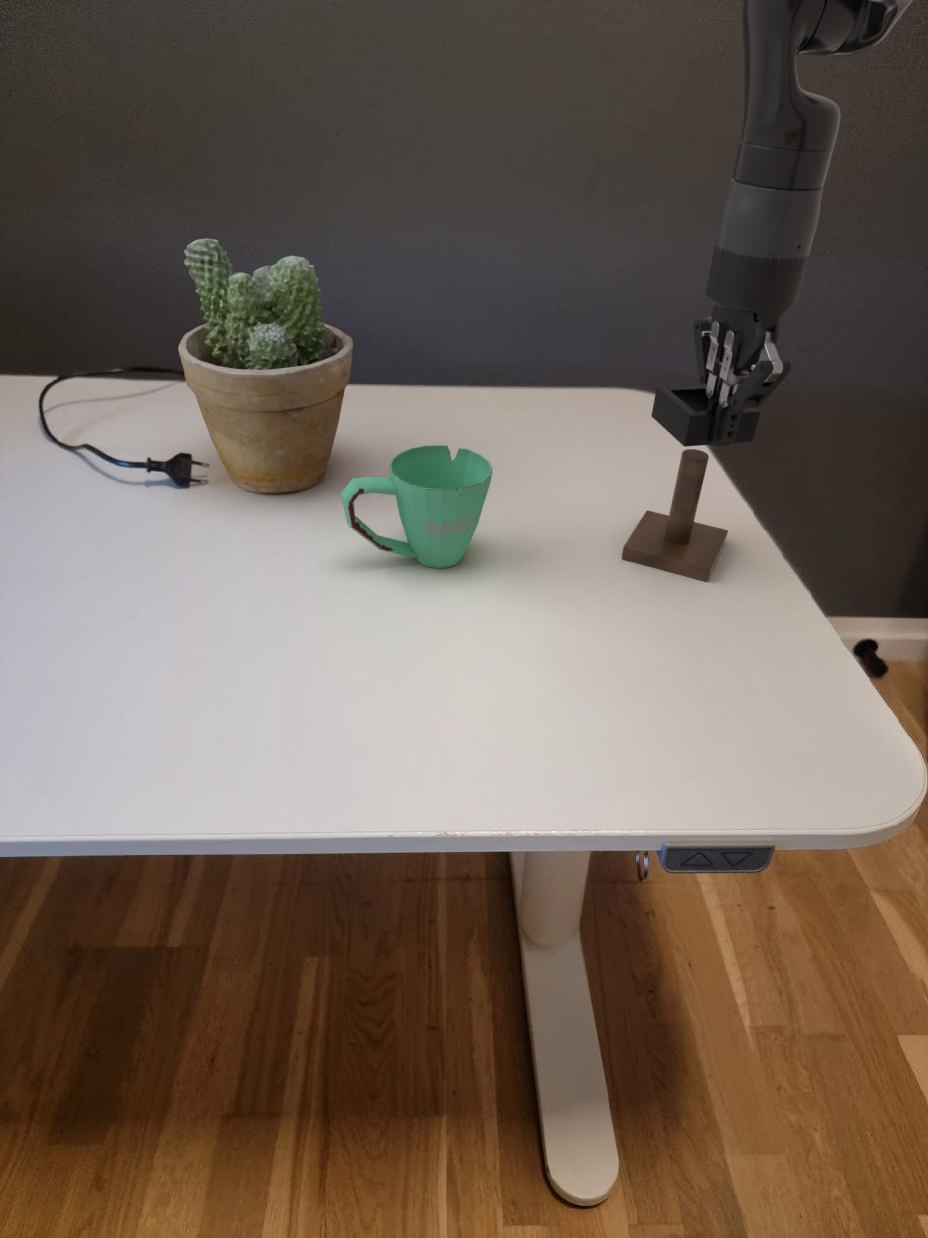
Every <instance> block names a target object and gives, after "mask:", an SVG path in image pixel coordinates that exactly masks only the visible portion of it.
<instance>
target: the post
mask: <svg viewBox="0 0 928 1238" xmlns="http://www.w3.org/2000/svg"><path fill="white" fill-rule="evenodd" d="M709 457H710V456H709V454H708V453H707V452H705V451H703V450H700V449H694V448H688V449H684V450H683V451H682V452H681V456H680V461H679V464H678V465H679V466H678V471H677V474H676V480H675V485H674V489H673V495H672V498H671V503H670V507H669V513H668V515H667V514H664V513H660V512H655V511H652V510H648V509H647V510H646V511H645V512H644V514H643V516H642V517H641V519H640V520H639V522H638V524H637V525H636V527H635V528H634V530H633V531H632V533H631V534H630V535H629V537H628V539H627V540H626V542H625V544H624V545H623V548H622V553H621V559H622V560H625V561H629V562H631V563H632V562H633V563H635V564H639V565H643V566H647V567H650V568H654V569H658V570H662V571H665V572H670V573H672V574H676V575H680V576H684V577H688V578H692V579H695V580H700V581H703V582H707V583H708V582H709V580H710V578H711V575H712V573H713V571H714V569H715V566H716V565H717V562H718V560H719V558H720V555H721V554H722V551H723V549H724V546H725V544H726V541H727V537H728V534H729V530H728V529H725V528H721V527H720V528H719V527H716V526H712V525H708V524H703V523H700V522H696V521H695V519H696V515H697V510H698V506H699V502H700V497H701V494H702V488H703V483H704V479H705V476H706V471H707V466H708V462H709Z"/></svg>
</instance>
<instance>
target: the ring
mask: <svg viewBox="0 0 928 1238" xmlns="http://www.w3.org/2000/svg"><path fill="white" fill-rule="evenodd" d="M706 387H707V386H706V384H692V385H674V386H673V385H672V386H657V387H656V388H655V393H654V398H653V399H654V400H653V405H652V410H651V418H652V419H654V421H656V423H658V424H659V425H660V426H661V427H662V428H663V429H664V430H666V431H667V432H668V433H669V434H670V435H671V436H672V437H673V438H674V439H675V440H676V441H677V442H679V444H680V445H682V446H683V447H685V448H687V447H698V446H712V445H713V444H712V443H711V442H710V437H711V433H712V429H713V424H714V420H715V414H716V411H707V406H708V402H709V398H708V397H707V395H706ZM760 416H761V411H760V410H759V409H758V408H744V410H743V412H742V415H741V419H740V423H739V427H738V431H737V436H736V438H735V441H734V442H733V444H742V443H749V442H750V443H751V442H754V440H755V435H756V431H757V427H758V424H759V421H760V420H759V419H760ZM713 446H714V445H713Z"/></svg>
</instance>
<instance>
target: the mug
mask: <svg viewBox="0 0 928 1238" xmlns="http://www.w3.org/2000/svg"><path fill="white" fill-rule="evenodd" d="M389 476H390V477H381V476H380V477H379V476H363V477H361V476H360V477H353V478H352V479H351V480H350V481H349V483H348V485H346V487H344V489H343V490H342V492H341V493H340V495H341V500H342V505H343V509H344V514H345V518H346V519H345V520H346V525H347V526H348V528H350V529H351V530H352V531H354V532H355V533H357V534H358V535H359V536H360V537H362V538H363V539H365V540H366V541H367V542H369V544H371V545H373V546H374V547H375V548H376V549H378V550H379V551H384V552H387V553H392V554H397V555H400V556H406V557H408V558H412V559H413V558H414V559H415V560H416V561H417V562H418V563H419V564H421V565H422V566H425V567H429V568H433V569H448V568H451V567H454V566H455V565H457V564H459V563H460V562H461V561H462V559H463V557H464V555H465V554H466V551H467V550H468V548H469V546H470V545H471V542H472V540H473V537H474V535H475V532H476V529H477V527H478V525H479V522H480V519H481V516H482V512H483V508H484V504H485V501H486V498H487V495H488V493H489V489H490V485H491V481H492V476H493V466H492V464H491V461H489V460H488V459H487V458H486V457H484V456H483V455H482V454H481V453H479V452H477V451H474V450H472V449H469V448H464V447H459V448H458V450H457V452H456V454H455V457H454V459H452V457H451V451H450V449H449V446H448V445H447V444H428V445H427V444H426V445H420V446H416V447H415V446H414V447H411V448H409V449H405V450H403V451H400V452H399V453H398V454H396V455H395V456H394V457H393V458H392V459H391V462H390V464H389ZM369 494H380V495H381V494H382V495H390V496H395V498H396V504H397V510H398V515H399V519H400V522H401V526H402V529H403V531H404V534H405V537H406V539H407V541H404V540H400V539H396V538H391V537H387V536H384V535H379V534H377V533H376V531H374V530H372V529H371V528H370V527H369V526H368V525H367V524H366V523H365V522H364V521H362V520H361V519H360V518H359V517H357V516H356V511H355V501H356V499H358V497H359V496H362V495H369Z"/></svg>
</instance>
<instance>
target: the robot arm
mask: <svg viewBox="0 0 928 1238" xmlns="http://www.w3.org/2000/svg"><path fill="white" fill-rule="evenodd" d="M913 1H914V0H742V4H741V5H742V6H741V29H742V30H741V31H742V48H743V49H742V50H743V73H744V74H743V75H744V76H743V79H744V80H743V89H744V90H743V91H744V92H743V98H744V99H743V121H742V128H741V131H740V132H741V133H740V137H739V141H738V147H737V151H736V157H735V161H734V166H733V171H732V178H731V181H730V184H729V188H728V190H727V193H726V198H725V200H724V202H723V207H722V210H721V214H720V219H719V223H718V229H717V233H716V239H715V244H714V248H713V253H712V259H711V263H710V269H709V275H708V278H707V282H706V288H705V296H706V298H707V299H708V300H709V301H710V302H711V303H713V304H714V305H713V307H712V309H711V315H710V316H709V317H707V318H696V319H695V320H694V321H693V335H694V348H695V358H696V359H695V360H696V368H697V378H698V384H699V385H706V386H707V387H706V395H707V397H708V398H709V402H708V406H707V411H716V414H715V420H714V424H713V429H712V433H711V437H710V442H711V443H712V444H713V446H715V447H725V446H726V447H727V446H731V445H732V444H734V443H733V442H734V441H735V438H736V436H737V431H738V427H739V423H740V419H741V415H742V412H743V410H744V408H756V409H758V408H760V407H762V405H763V404H764V402H766V400H767V399H768V398H770V396H771V394H772V393H774V391H775V390H776V389H777V388H778V386H779V385H780V384H781V383H782V382H783V380H785V379H786V378H787V376H788V375H789V374H790V372H791V371H792V363H791V361H790V360H789V359H780V355H779V353H778V350H777V347H776V346H777V345H778V343H779V340H780V323H781V318H782V316H783V315H784V314H785V313H786V312H788V311H790V310H792V309H793V308H795V306H796V305H797V303H798V299H799V295H800V291H801V287H802V284H803V280H804V275H805V272H806V268H807V264H808V261H809V257H810V253H811V249H812V245H813V241H814V238H815V234H816V231H817V227H818V224H819V223H818V222H819V217H820V213H821V205H822V197H823V196H822V195H823V192H824V186H825V182H826V178H827V176H828V172H829V168H830V164H831V159H832V157H833V153H834V148H835V145H836V141H837V137H838V133H839V128H840V123H841V110H840V107H839V105H838V103H836V102H835V101H834V100H832V99H830V98H828V97H826V96H823V95H820V94H816V93H814V92H810V91H806V90H805V89H803V88H802V87H801V85H800V82H799V78H798V73H797V63H796V56H815V57H816V56H819V57H820V56H821V57H832V58H843V57H850V56H854V55H858V54H861V53H863V52H865V51H867V50H869V49H871V48H873V47H875V46H876V45H878V44H879V43H880V42H882V41H883V40H884V39H885V38H886V37H887V35H888V34H889V33H890V31H891V30H892V29H893V27H894V26H895V25H896V23H897V22H898V20H899V19H900V18H901V16H902V15H903V14H904V12H905V11H906V10H907V9H908V8H909V6H910V5H911V4H912V2H913Z"/></svg>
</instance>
